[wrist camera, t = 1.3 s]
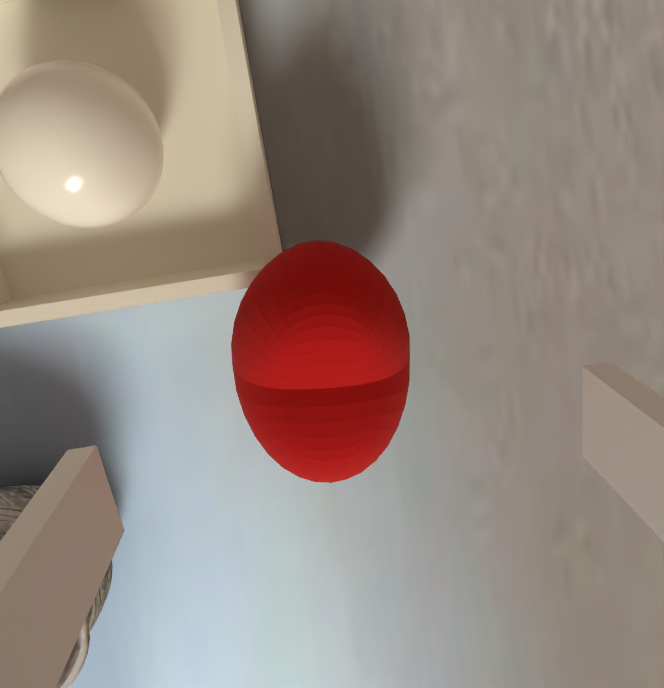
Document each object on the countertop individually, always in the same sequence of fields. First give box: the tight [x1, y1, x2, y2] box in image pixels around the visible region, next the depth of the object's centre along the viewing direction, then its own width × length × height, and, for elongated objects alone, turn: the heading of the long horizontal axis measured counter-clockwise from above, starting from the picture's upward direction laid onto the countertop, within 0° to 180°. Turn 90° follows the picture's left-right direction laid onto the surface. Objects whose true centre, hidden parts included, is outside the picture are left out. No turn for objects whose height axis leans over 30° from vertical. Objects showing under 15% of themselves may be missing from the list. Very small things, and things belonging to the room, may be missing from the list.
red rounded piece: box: [231, 241, 410, 483], centre depth 23 cm, size 9×7×10 cm
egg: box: [0, 59, 164, 228], centre depth 21 cm, size 6×6×6 cm
